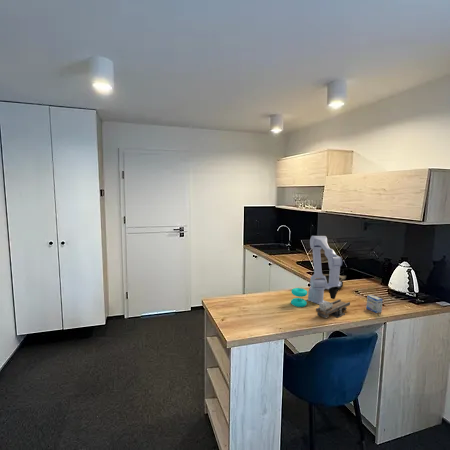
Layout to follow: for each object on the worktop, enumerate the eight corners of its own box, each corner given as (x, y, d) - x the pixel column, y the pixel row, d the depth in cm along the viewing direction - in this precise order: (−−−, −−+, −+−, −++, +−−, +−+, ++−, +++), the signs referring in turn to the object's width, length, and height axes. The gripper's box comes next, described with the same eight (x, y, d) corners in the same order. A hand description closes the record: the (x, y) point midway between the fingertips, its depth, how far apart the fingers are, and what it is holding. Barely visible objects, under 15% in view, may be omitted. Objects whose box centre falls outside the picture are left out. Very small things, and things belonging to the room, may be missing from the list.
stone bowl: (347, 292, 224) (347, 280, 223) (312, 290, 232) (312, 278, 231) (346, 282, 247) (346, 271, 246) (314, 281, 255) (313, 270, 254)
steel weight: (318, 310, 179) (319, 303, 179) (325, 307, 184) (326, 301, 183) (325, 312, 176) (326, 305, 175) (332, 309, 180) (332, 303, 180)
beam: (315, 314, 179) (315, 308, 179) (339, 304, 196) (339, 299, 195) (326, 318, 174) (326, 312, 174) (349, 308, 190) (350, 302, 190)
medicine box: (366, 308, 194) (367, 295, 192) (371, 307, 195) (372, 294, 194) (376, 313, 186) (377, 299, 185) (381, 312, 188) (382, 298, 187)
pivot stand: (321, 311, 187) (321, 305, 186) (335, 305, 197) (336, 299, 196) (337, 317, 178) (338, 311, 178) (351, 311, 188) (352, 305, 188)
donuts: (289, 290, 195) (294, 286, 203) (288, 305, 196) (294, 300, 204) (304, 293, 189) (309, 289, 198) (303, 308, 190) (308, 304, 199)
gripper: (333, 280, 174) (332, 303, 175) (346, 276, 183) (345, 298, 185) (322, 277, 179) (321, 299, 181) (336, 273, 188) (334, 294, 190)
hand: (332, 298), depth 183 cm, fingers closed
